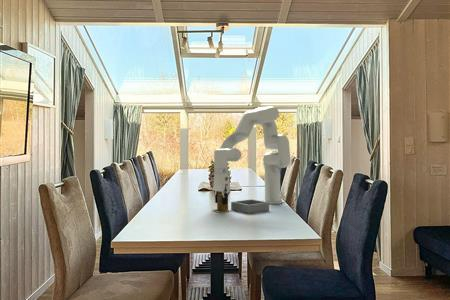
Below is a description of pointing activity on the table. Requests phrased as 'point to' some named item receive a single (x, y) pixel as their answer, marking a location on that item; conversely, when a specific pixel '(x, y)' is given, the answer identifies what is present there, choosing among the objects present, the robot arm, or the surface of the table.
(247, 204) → the box
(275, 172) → the robot arm
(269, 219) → the table surface
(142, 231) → the table surface
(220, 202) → the condiment
